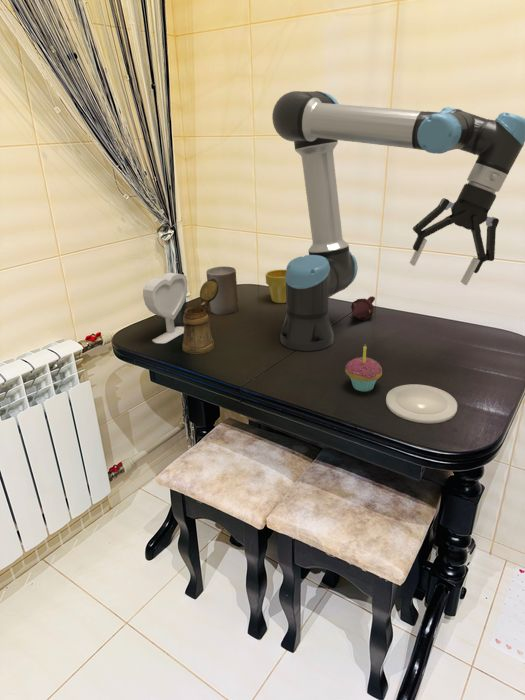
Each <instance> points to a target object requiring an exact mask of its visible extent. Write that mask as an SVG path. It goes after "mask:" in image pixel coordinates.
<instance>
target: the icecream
mask: <svg viewBox="0 0 525 700" xmlns="http://www.w3.org/2000/svg"><path fill="white" fill-rule="evenodd" d="M375 300H376V298H375V296H374V295H373V296H369V297H368V298H358V299H356V300H354V301H352V302H351V306H350V308H351V316H352V317H355V318H356V319H357V320H360V321H367V320H369V319H370V318H371V317H372V316H373V314H374V310H375V309H374V308H375V306H374V302H375Z"/></svg>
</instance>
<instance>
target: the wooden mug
mask: <svg viewBox="0 0 525 700" xmlns="http://www.w3.org/2000/svg"><path fill="white" fill-rule="evenodd" d="M218 289H219V287H218V283H217V281H216V280H215V279H214V278H213V279H210V280H208V281H205V282H204V283H203V284H202V286H201V287H200V291H199V298H200V300H201V301H200V304H199V307H195V306H194V307H189V308H185V309H184V313H183V316H182V317H183V318H182V319H183V320H182V323H183V327H184V333H183V341H182V346H181V347H182V351H183V352H184V353H186V354H189V355H202V354H207V353H210V352H211V351H212V350H213V349H214V348H215V342H214V339H213V337H212V333H211V328H210V322H211V318H212V317H211V316H212V312H211V307H210V304H209V303H210V302H211V301H212V300H213V299H214V298H215V297H216V296H217V293H218Z"/></svg>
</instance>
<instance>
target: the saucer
mask: <svg viewBox="0 0 525 700" xmlns="http://www.w3.org/2000/svg"><path fill="white" fill-rule="evenodd" d="M385 405H386V406H387V409H388V410H389V411H390V412H391V413H393V415H396V416H397V417H399V418H401V419H403V420H406V421H409V422H413V423H417V424H418V423H419V424H430V425H431V424H440V423H445V422H447V421H450V420H451V419H452V418H454V417H455V416H456V414H457V412H458V411H457V410H458V402H457V401H456V399H455V397H453V396H452V395H451V394H450V393H449V392H447V391H445V390H442V389H440V388H438V387H435V386H431V385H425V384H417V383H416V384H415V383H414V384H411V383H410V384H404V385H403V384H402V385H399V386H395V387H394V388H392V389H390V390H389V391H388V392H387V393H386V399H385Z"/></svg>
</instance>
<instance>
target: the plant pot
mask: <svg viewBox="0 0 525 700" xmlns="http://www.w3.org/2000/svg"><path fill="white" fill-rule="evenodd" d="M285 277H286V269H281V268H280V269H273V270H269V271H267V272H266V273H265V283H266V285H267V287H268V290H269V294H270V297H271V301H272V302H274V303H276V304H286V280H285Z"/></svg>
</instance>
